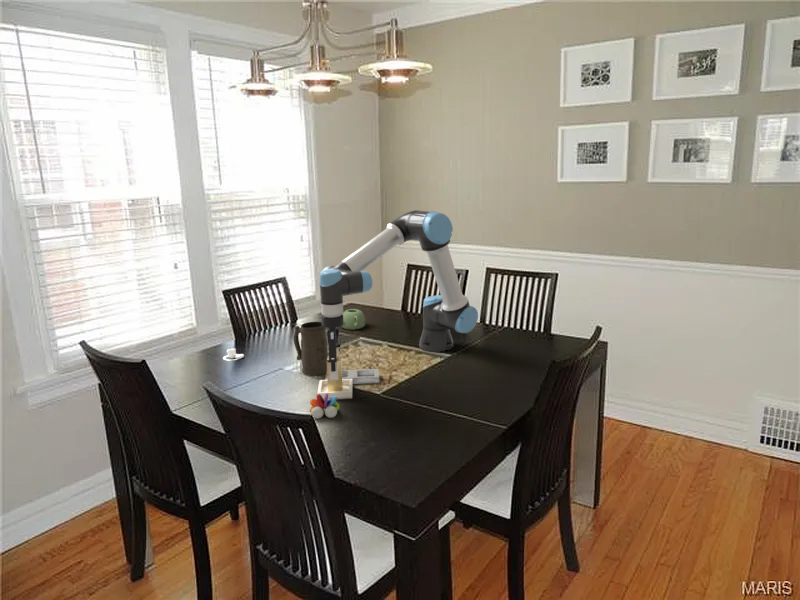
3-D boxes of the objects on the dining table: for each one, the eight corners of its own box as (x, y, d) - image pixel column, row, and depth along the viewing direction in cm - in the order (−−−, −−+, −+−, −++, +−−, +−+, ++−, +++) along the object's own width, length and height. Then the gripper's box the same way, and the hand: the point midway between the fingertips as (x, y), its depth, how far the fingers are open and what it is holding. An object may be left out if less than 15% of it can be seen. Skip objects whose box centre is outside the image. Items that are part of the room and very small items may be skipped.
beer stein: (334, 367, 217) (329, 320, 213) (322, 377, 208) (317, 328, 204) (302, 365, 223) (296, 320, 218) (288, 375, 213) (282, 327, 209)
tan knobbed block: (342, 387, 196) (341, 355, 193) (342, 393, 192) (341, 360, 189) (328, 388, 196) (327, 356, 193) (328, 393, 191) (326, 361, 188)
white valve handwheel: (247, 358, 230) (246, 349, 229) (230, 363, 225) (229, 354, 224) (236, 353, 236) (235, 345, 235) (219, 358, 231) (218, 349, 230)
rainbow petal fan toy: (310, 409, 181) (309, 389, 179) (339, 407, 182) (339, 387, 180) (308, 420, 173) (307, 399, 171) (339, 419, 173) (338, 398, 172)
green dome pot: (337, 325, 276) (337, 308, 274) (362, 322, 280) (361, 306, 278) (345, 333, 261) (344, 316, 259) (370, 331, 265) (370, 314, 263)
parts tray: (352, 385, 200) (352, 378, 200) (352, 398, 188) (352, 391, 188) (319, 386, 199) (319, 380, 199) (317, 400, 188) (317, 393, 187)
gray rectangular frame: (378, 374, 210) (378, 368, 209) (379, 382, 202) (379, 376, 201) (326, 376, 208) (326, 370, 208) (325, 385, 200) (325, 378, 200)
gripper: (323, 305, 199) (326, 360, 204) (318, 325, 175) (321, 386, 180) (344, 305, 199) (346, 359, 204) (342, 324, 175) (344, 385, 180)
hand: (334, 372), depth 192 cm, fingers open, 13 cm apart
